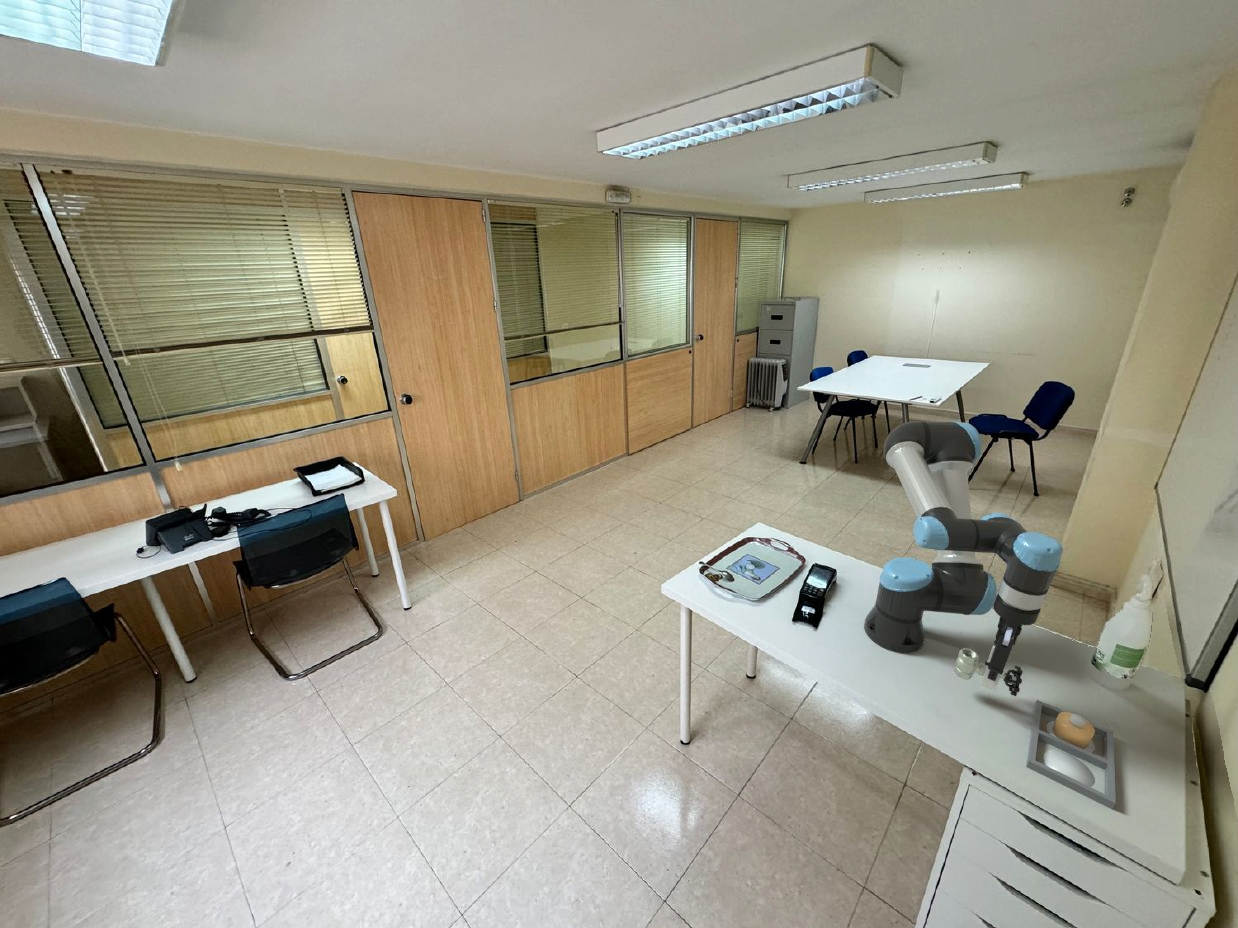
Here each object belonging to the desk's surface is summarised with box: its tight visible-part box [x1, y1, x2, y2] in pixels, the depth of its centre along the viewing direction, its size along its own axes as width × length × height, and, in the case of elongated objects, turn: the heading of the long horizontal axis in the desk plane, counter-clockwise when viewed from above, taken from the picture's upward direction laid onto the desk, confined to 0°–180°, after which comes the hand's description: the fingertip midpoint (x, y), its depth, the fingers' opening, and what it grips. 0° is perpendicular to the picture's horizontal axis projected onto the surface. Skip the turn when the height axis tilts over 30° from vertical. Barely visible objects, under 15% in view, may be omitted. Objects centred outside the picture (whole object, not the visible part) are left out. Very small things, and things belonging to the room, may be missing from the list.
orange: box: [1053, 711, 1095, 749], centre depth 105 cm, size 6×6×6 cm
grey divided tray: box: [1025, 699, 1117, 810], centre depth 103 cm, size 13×20×3 cm, turn 137°
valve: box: [953, 647, 1023, 697], centre depth 113 cm, size 7×7×12 cm
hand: (990, 677), depth 113 cm, fingers closed on valve, 6 cm apart
